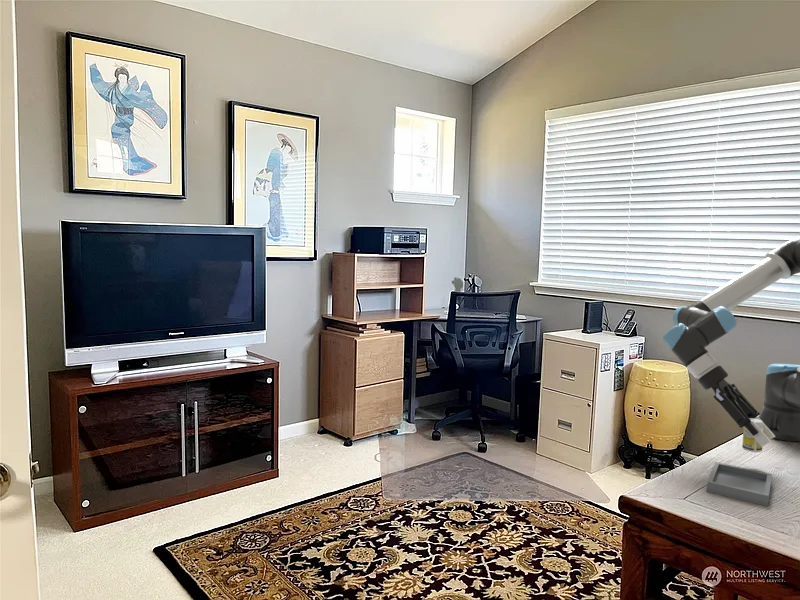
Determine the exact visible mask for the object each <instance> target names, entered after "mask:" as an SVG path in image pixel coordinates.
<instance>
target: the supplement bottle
mask: <svg viewBox="0 0 800 600" xmlns="http://www.w3.org/2000/svg"><path fill="white" fill-rule="evenodd" d="M749 419H750V420H751V422H752V421H754V422H755V424H756V425H757V426H758V427H759V428H760V429H761V430H762V432H763V433H764V429H763V428H762V425H763V421H762V420H759V419H755V418H749ZM742 431H743V433H742V434H743V435H742V444H741V445H742V447H741V448H742V449H743V450H744V451H747V452H749V453H750V452H751V453H761V452H762V451H763V446H762V447H761V446H760V445H759V443H758V442H757V441H756V440H755V439H754V438H753V436H752V435H751V434H750V433H749V432H748V431H747V430H746V428H745V427H744V426H743V430H742Z"/></svg>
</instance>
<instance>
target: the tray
mask: <svg viewBox="0 0 800 600" xmlns="http://www.w3.org/2000/svg"><path fill="white" fill-rule="evenodd" d="M772 477H773V474H772V473H769V472H764V471H758V470H755V469H749V468H745V467H740V466H737V465H731V464H727V463H721V462H717V461H715V462H714V464H713V467H712V468H711V472H710V474H709V477H708V479H707V482H706V492H708V493H711V494H716V495H720V496H724V497H728V498H733V499H736V500H740V501H745V502H748V503H749V502H750V503H753V504H758V505H761V506H767V507H768V506H769V499H770V492H771V486H772Z"/></svg>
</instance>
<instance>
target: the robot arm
mask: <svg viewBox="0 0 800 600" xmlns="http://www.w3.org/2000/svg"><path fill="white" fill-rule="evenodd" d="M796 274H800V235H799V236H796V237H793V238H791V239H789V240H788V241H786V242H783V243H782V244H780V245H779V246H777V247H775V248H774V249H772V250H771V251H769V252H767V253H766V254H765V256H764V259H762V260H761V261H759V262H758V263H757V264H755V265H753V266H751V267H750V268H748V269H747V270H745V271H743V272H742V273H740V274H738V275H737V276H735V277H734V278H732V279H731V280H729V281H727V282H726V283H724V284H723V285H720V286H719V287H718V288H716V289H714V290H713V291H711V292H710V293H708V294H707V295H705V296H704V297H702V298H700V299H699V300H696V301H695V302H694V303H692V304H690V305H683V306H679V307H677V308H676V309H675V310H674V312H673V313H672V321H673V324H674V326H672V327H671V328H670V329H669V330H667V331H666V332H665V333H664V335H663V336H662V340H663V342H664V343H665V345H666V346H667V347H668V349H669V350H670V351H671V352H672V353H673V354H674V356H676V357H677V359H678V360H679V361H680V362H681V363H682V364H683V365H684V367H685V368H686V369H687V372H688V373H689V374H691V375H692V376H693V377H694V378H695V379H697V381H698V383H699V384H700V386H702V388H703V389H704V390H706V391H708V390H710V389H712V391H713V392H714V394H715V395H713V399H715V401H716V402H718V404H720V405H721V406H722V408H723V409H724V410H725V411H726V412H727V414H728V415H729V416H730V417H731V418H732V419H733V420H734V422H736V424H737V425H738V427H739V428H740V429H742V428H744V427H745V428H746V430H747V431H748V432H749V433H750V434H751V435H752V436H753V438H754V439H755V440H756V441H757V442H758V443H759V445H760V446H761V447H762V448H763V447H764V446H765V445H767V444H770V443H771V442H772V441H771V440H772V439H775V440H780V441H786V442H795V443H797V442H796V441H798V443H799V441H800V364H793V363H771V364H769V365H768V366H767V369H766V374H765V376H766V377H765V385H764V388H765V389H764V397H763V405H762V409H761V411H760V412H758V410H757V409H756V408H755V407H754V406H753V405H752V403H750V401H749V400H748V399H747V398H746V397H745V396H744V394H742V392H741V391H740V390H739V389H738V387H737V386H736V384H734V383H732V384H731V383H729V382H728V381H726V380H725V379H726V378H727V377H729V373H728V372H727V371H726V370H725V369H724V368H723V367H722V366H721V365H718V364H719V362H718V361H717V360H716V358H714V356H713V355H712V354H711V353H710V352H709V350H707V349H706V347H707V346H710V344H713V342H716V341H717V340H719V339H720V338H722V337H723V336H725V335H726V334H729V332H730V331H732V330H733V329H734V328H736V326H737V324H738V323H737V320H736V319H737V318H736V317H735V316H734V314H733V313H732V312H731V311H730V310H732V309H734V308H735V307H738V306H739V305H741V304H742V303H744V302H745V301H747V300H748V299H750V298H751V297H753V296H754V295H756V294H758V293H760V292H762V291H763V290H765V289H766V288H767V287H769V286H771V285H772V284H774V283H776V282H777V281H779V280H781V279H785V280H787V279H789V278H790V277H792V276H794V275H796ZM749 418H755V419H759V420H762V421H763V425H762V428H763V429H764V433H763V432H762V430H761V429H760V428H759V427H758V426H757V425H756V424H755V422H754V421H752V422H751V420H750V419H749Z"/></svg>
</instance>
